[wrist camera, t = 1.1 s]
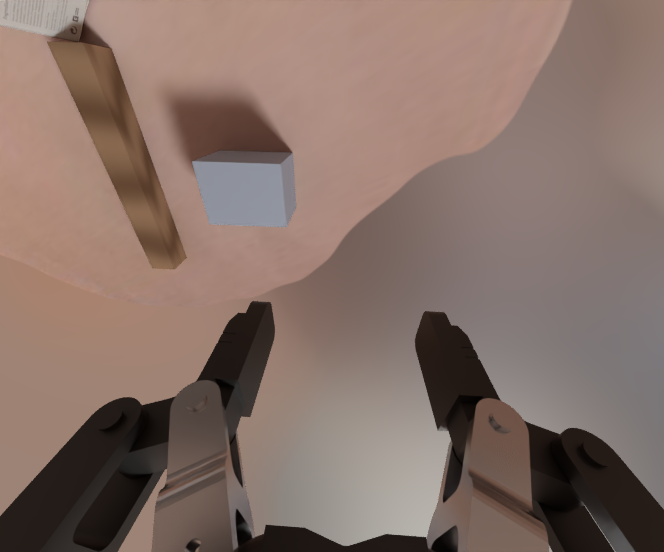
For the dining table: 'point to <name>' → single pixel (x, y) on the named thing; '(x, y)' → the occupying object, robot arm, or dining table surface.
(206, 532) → the robot arm
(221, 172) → the block
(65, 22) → the skincare box
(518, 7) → the dining table surface
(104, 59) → the board
